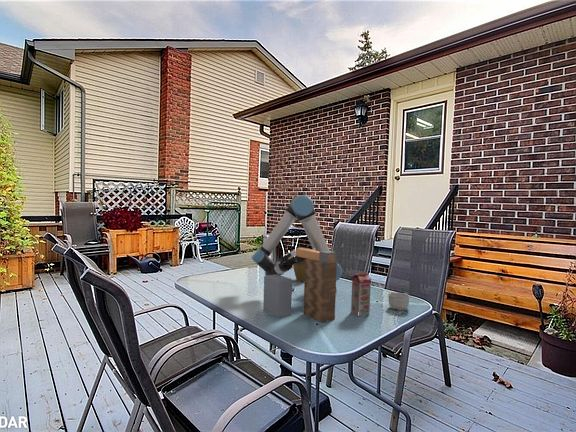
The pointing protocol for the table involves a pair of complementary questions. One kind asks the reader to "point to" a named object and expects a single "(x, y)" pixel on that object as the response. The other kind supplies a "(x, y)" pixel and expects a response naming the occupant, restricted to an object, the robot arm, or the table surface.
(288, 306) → the grey stand
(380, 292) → the table surface
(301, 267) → the plant pot
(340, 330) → the table surface
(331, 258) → the brown block
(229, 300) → the table surface
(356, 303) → the juice carton
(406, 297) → the teacup
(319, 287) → the walnut stand
